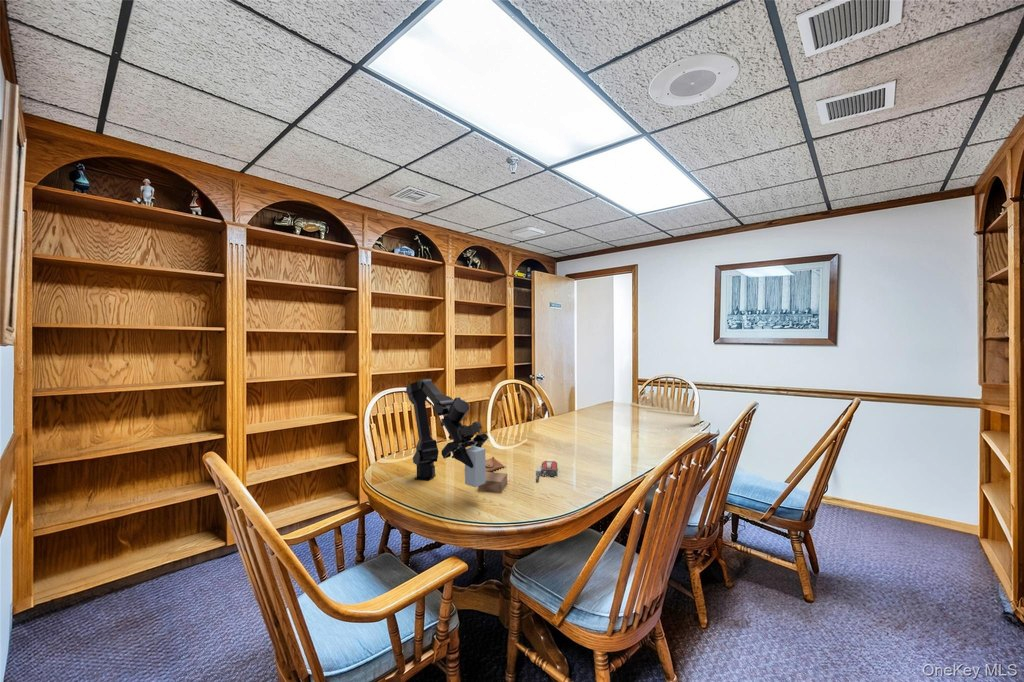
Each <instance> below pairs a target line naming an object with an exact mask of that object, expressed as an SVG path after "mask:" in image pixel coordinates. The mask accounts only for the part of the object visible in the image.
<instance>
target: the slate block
mask: <svg viewBox="0 0 1024 682" xmlns="http://www.w3.org/2000/svg"><path fill="white" fill-rule="evenodd" d="M466 453H467V454H468V456H469V458H470V460H471V462H472V464H473V466H474V467H473V468H470V467H469V466H467V465H465V464H464V484H465V485H466V486H470V487H473V488H478V486H480V485H482V484H484V483H486V481H485V460H486V448H484V447H482V446H481V447H476V446H474V447H467V448H466Z"/></svg>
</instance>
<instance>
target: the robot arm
mask: <svg viewBox="0 0 1024 682" xmlns="http://www.w3.org/2000/svg"><path fill="white" fill-rule="evenodd" d="M405 391H406V395H407V398H408V400H409V402H411V404H412V405H413V410H414V415H415V422H416V429H417V435H418V441H417V443H416V446H415V450H416V451H415V453H414V454H413V457H412V463H413V464H414V465H415V466H416V476H415V477H414V480H420V481H421V480H422V481H431V479H433V478H434V477H435V476H436V465H435V463H436V462H438V459H439V458H438V457H439V452H440V451H439V448H438V443H437V440H436V439H434V438H432V434H431V429H430V424H429V417H428V412H427V406H426V405H427V404H426V400H427V398H428V399H429V400H430V401H431V402H432V404H433V407H432V409H433V411H434V413H435V414H436V415H437V416H438V417H439V416H441V417H442V416H443V418H441V419H440V420H441V422H440V427H444V428H445V430H446V431H447V432H448V437H447V438H448V439H449V440H452V441H449V442H447V443H446V445H445V446H444V447H443V448H442V450H441V456H442V458H443V459H444V460H446V459H448V458H450V457H451V458H452V459H455V460H457V461H459V463H460V462H461V463H462V464H464V466H465V465H467V466H469V467H470V468H473V467H474V466H473V464H472V462H471V460H470V458H469V456H468V454H467V453H466V449H467V448H471V447H474V446H476V447H481V448H482V446H483V445H484V444H485V443H486V442H487V441H488V439H489V436H488V435H487V433H486V432H482V433H481V430H482V424H481V423H480V422H479V421H478V420H476V421H474V422H472V423H471V424H469V425H466V424H464V425H463V423H462V420H463V419H464V418H465V417H466V415H467V414H468V412H469V410H470V405H469V403H468V402H467V401H466V400H463V399H462V398H461V397H460V396H459V397H458V396H457V397H455V398H452V397H451V396H449V395H445V394H443V392H441V390H440V389H439V388H438V387H437V385H435V383H434V382H433V380H432V379H431V378H421V379H418V380H417V381H414V382H411V383H409V384H408V385H407V386H406V388H405ZM477 433H478V434H477ZM475 434H476V435H475Z"/></svg>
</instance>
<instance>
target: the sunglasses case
mask: <svg viewBox="0 0 1024 682" xmlns="http://www.w3.org/2000/svg"><path fill="white" fill-rule="evenodd" d="M504 467H505V468H506V466H505V465H504V464H502V463H501V462H500V461H498V460H497V459H496V458H495V457H494V456H493V457H491V458H488V459H485V472H493V471H495V472H497V471H499V469H500V470H502V469H501V468H503V469H505V468H504ZM496 470H497V471H496Z"/></svg>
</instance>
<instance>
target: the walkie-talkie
mask: <svg viewBox="0 0 1024 682" xmlns="http://www.w3.org/2000/svg"><path fill="white" fill-rule="evenodd" d="M539 475H542V476H541V477H551V476H552V477H554V476H556V477H558V462H557V461H554V460H544V461H542V462H541V465H540V466H538V467H536V469H535V476H536V477H535V481H537V482H538V481H539V478H540V476H539ZM545 475H546V476H545Z"/></svg>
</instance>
